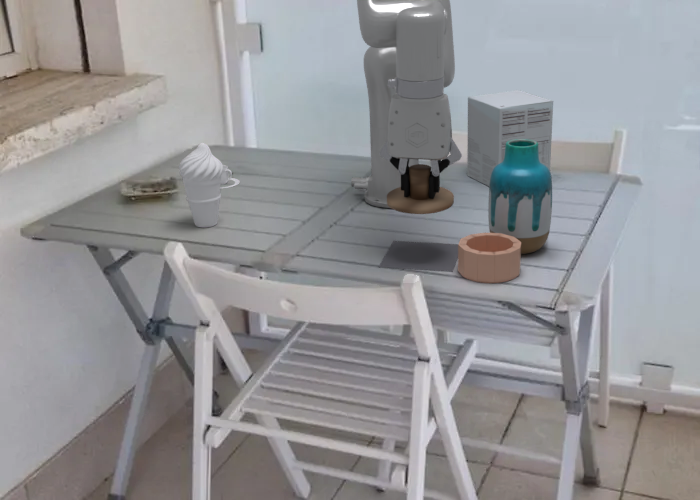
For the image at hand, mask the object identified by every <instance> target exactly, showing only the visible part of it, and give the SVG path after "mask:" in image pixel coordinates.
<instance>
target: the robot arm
mask: <svg viewBox="0 0 700 500" xmlns="http://www.w3.org/2000/svg"><path fill="white" fill-rule="evenodd" d="M356 5H357V6H356V7H357V13H358V15H357V16H358V23H359V30H360V34H361V38H362V41H364V43H365V44H366V46H369V47H368V48H367V49H366V51H365V52H364V56H363V70H364V71H363V72H364V77H365V83H366V88H367V97H368V107H369V109H368V111H369V132H370V133H369V136H370V141H369V142H370V163H371V164H370V167H371V168H370V173H371V175H370V176H367V177H357V176H355V177H353V176H352V177H351V182H350V185H351V187H353V188H354V190H365V191H366V192H364V195H363V196H364V201H365V202H366V203H367V204H369V205H371V206H374V207H378V208H385V209H391V208H390V207H389V206H388V205H387V194H388V193H389V192H390V191H392V190H394V189H396V188H399V187H401V190H403V191H404V197H409V167H410V166H412V165H416V164H420V163H419V160H425V161H429V162H430V167H431V175H430V176H429V198H430V199H434V197H435V194H436V192H437V193H439V189H440V187H441V186H440V185H441V182H440V179H441V177H440V174H441V173H442V172H444V170H446V169H447V168H448V167H449V166H450V165H452V164H455V163H457V162H459V161H460V160H461V159H462V156H463V154H462V153H461V151H460V149H459V148H458V146H457V144H456V142H455V141H454V139H453V131H452V130H453V129H452V114H451V109H450V108H451V107H450V101H449V96H448V95H447V93H445V92H444V91H445V88H447V87H449V86H450V85H452V83H453V82H454V79H455V71H456V65H455V62H456V61H455V45H454V35H453V33H454V30H453V21H452V7H451V1H450V0H356Z"/></svg>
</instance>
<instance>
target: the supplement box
mask: <svg viewBox="0 0 700 500" xmlns="http://www.w3.org/2000/svg"><path fill="white" fill-rule="evenodd" d="M553 111H554V100H552V99H549V98H545V97H543V96H542V97H541V96H538V95H535V94H532V93H530V92H526V91H524V90H521V89H516V90H509V91H501V92H494V93H485V94H478V95H471V96H467V151H466V152H467V153H466V155H467V158H466V159H467V161H466V162H467V164H466V166H467V167H466V170H467V171H466V175H467V177H470V178H472V179H474V180H475V181H478V182H479V183H481V184H483V185H485V186H486V187H489V185H490V178H491V173H492V171H493V169H494V167H495V166H496V165H498V164H500V163H502V162H503V160H504V155H505V145H506V142H508V141H510V140H515V139H529V140H534V141H536V142H537V143H538V148H539V161H540V163H542V164H544V165H545V166H547V168H548V169H549V171H550V172H551V159H552V154H551V153H552V133H553V114H554V113H553Z"/></svg>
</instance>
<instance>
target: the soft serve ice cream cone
mask: <svg viewBox="0 0 700 500" xmlns="http://www.w3.org/2000/svg"><path fill="white" fill-rule="evenodd" d="M223 165H224V164H223V163H222V161H221V160H220V159H219V158H217V157H216V156H215V155H213V153H212V151H211V148H210V147H209V145H208V144H207V143H206V142H201V143H199V144H198V146H197V147H196V148H195V149H194V150H192V151H191V152H190V153H189V154H187V156H185V157H184V158H182V160H181V161H180V163H179V165H178V171H179V175H180V176H181V177H182V184H183V185H184V191H185V195H186V198H185V199H186V201H187V202H188V207H189V209H190V212H191V213H190V214H191V216H192V219H193V223H194V226H195V227H198V228H211V227H214V226H216V225H218V222H219V212H220V204H221V199H222V194H221V191H222V190H221V187H222V186H221V185H220V182H221V175H222V172H223Z"/></svg>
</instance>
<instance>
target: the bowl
mask: <svg viewBox="0 0 700 500" xmlns="http://www.w3.org/2000/svg"><path fill="white" fill-rule="evenodd" d="M457 244H458V259H457V272H459V275H460V276H461V277H463V278H464V279H467V280H468V281H472V282H476V283H484V284H497V283H498V284H500V283H505V282H509V281H512V280H514V279H516V278H517V277H518V276H519V275H520V272H521V267H522V266H521V265H522V263H521V262H522V254H521V242H520V241H519V240H518V239H516V238H515V237H513V236H509V235H505V234H502V233H490V232H479V233H472V234H468V235H467V236H466V235H465V236H464V237H462V238H460V239H459V242H458V243H457Z"/></svg>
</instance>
